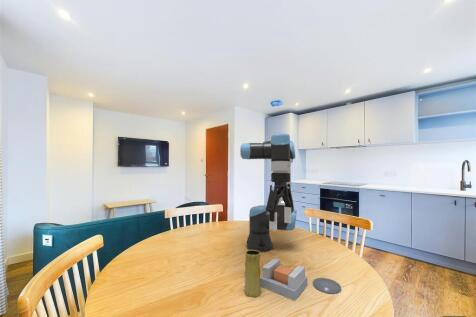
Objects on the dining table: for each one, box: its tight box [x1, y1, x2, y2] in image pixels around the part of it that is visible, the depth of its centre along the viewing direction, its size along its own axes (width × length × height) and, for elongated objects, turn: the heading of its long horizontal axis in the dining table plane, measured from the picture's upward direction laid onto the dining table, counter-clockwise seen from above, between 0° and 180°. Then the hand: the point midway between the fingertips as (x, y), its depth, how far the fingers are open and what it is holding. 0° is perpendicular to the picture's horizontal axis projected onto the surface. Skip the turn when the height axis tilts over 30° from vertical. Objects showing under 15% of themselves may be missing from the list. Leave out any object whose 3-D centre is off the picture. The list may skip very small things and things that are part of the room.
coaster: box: [312, 277, 342, 295], centre depth 80 cm, size 10×10×1 cm
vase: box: [244, 249, 262, 298], centre depth 76 cm, size 6×6×14 cm
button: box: [274, 264, 295, 285], centre depth 80 cm, size 6×6×4 cm
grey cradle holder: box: [260, 258, 308, 301], centre depth 80 cm, size 14×12×7 cm
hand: (281, 226), depth 81 cm, fingers open, 13 cm apart
